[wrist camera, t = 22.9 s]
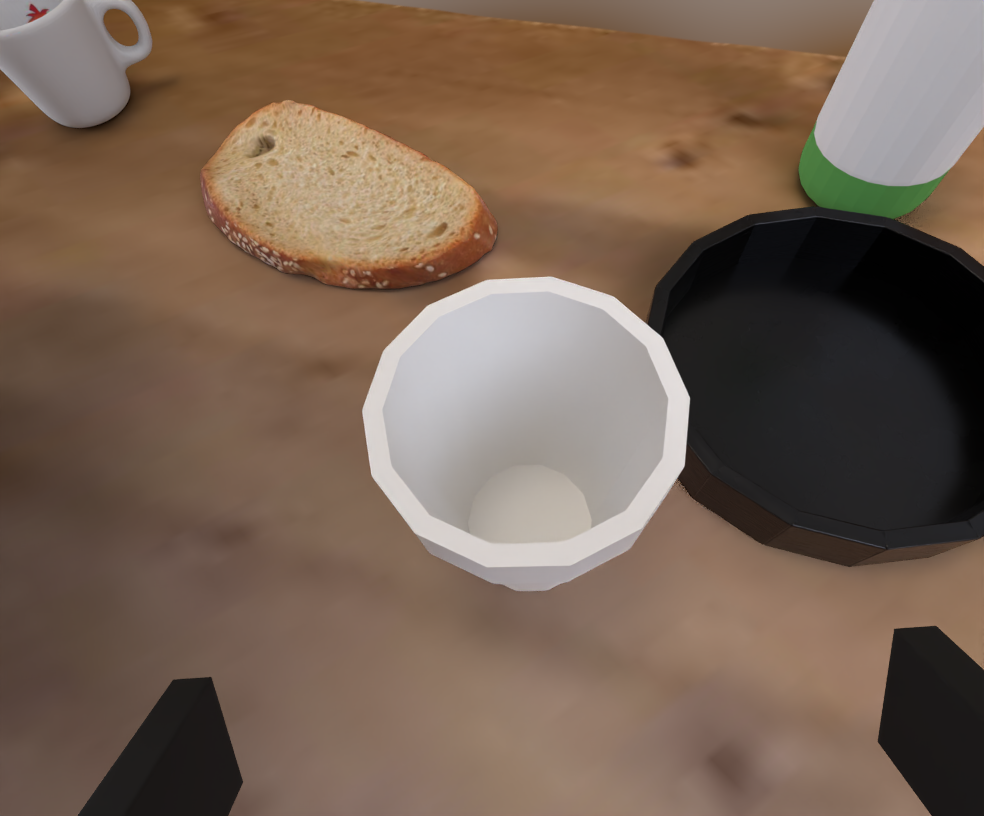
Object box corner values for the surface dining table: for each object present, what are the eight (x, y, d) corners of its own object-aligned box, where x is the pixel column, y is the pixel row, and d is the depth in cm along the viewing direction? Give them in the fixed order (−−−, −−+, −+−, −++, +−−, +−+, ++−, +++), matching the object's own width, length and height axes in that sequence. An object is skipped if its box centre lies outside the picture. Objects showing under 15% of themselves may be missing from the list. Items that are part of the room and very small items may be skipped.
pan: (605, 504, 29) (613, 481, 25) (665, 228, 36) (677, 185, 33) (1435, 719, 22) (1578, 723, 19) (1295, 331, 30) (1382, 289, 27)
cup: (168, 52, 49) (106, -58, 42) (189, 105, 45) (124, -6, 38) (40, 97, 47) (-48, -10, 40) (52, 154, 44) (-43, 49, 37)
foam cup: (420, 460, 30) (347, 312, 19) (590, 419, 31) (622, 248, 19) (457, 651, 26) (391, 611, 14) (654, 600, 26) (745, 521, 15)
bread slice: (512, 260, 36) (509, 215, 33) (227, 346, 34) (194, 308, 31) (436, 90, 44) (427, 40, 41) (203, 154, 43) (174, 108, 39)
